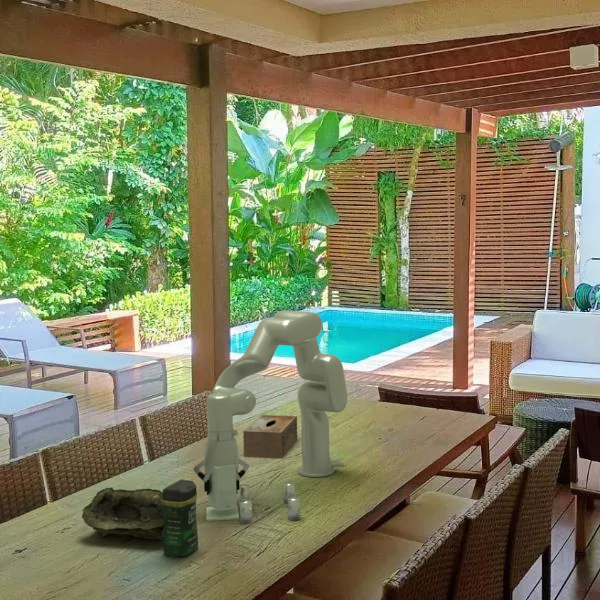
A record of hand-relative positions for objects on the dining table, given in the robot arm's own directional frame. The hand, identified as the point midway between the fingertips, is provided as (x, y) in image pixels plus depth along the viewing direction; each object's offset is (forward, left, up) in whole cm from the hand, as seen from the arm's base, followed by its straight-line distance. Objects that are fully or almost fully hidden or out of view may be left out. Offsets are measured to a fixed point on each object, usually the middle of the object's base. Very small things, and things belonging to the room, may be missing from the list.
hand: (222, 492), depth 244 cm
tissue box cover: (-20, -69, -7) cm, 72 cm away
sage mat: (0, 0, -7) cm, 7 cm away
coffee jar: (+11, +26, -7) cm, 29 cm away
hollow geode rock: (+25, +15, -7) cm, 30 cm away
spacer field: (-14, 0, -7) cm, 15 cm away
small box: (0, 0, -4) cm, 4 cm away
